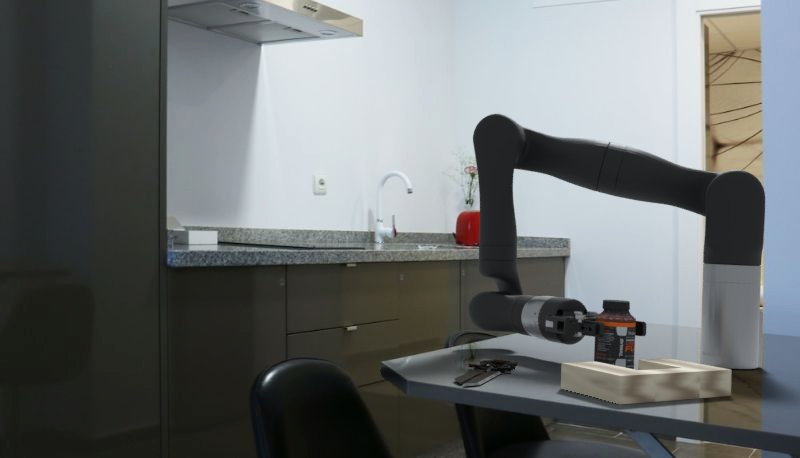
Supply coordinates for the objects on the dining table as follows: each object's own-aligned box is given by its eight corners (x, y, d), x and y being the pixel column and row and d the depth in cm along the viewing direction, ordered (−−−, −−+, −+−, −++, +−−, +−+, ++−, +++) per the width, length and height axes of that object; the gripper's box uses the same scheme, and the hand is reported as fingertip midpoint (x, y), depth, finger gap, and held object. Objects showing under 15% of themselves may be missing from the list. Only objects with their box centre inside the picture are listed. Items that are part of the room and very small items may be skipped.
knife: (472, 392, 109) (473, 382, 109) (427, 387, 112) (427, 376, 112) (528, 369, 132) (529, 360, 132) (490, 365, 135) (490, 356, 135)
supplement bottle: (632, 379, 123) (634, 302, 123) (591, 375, 125) (593, 300, 125) (635, 373, 129) (637, 300, 129) (596, 370, 131) (598, 298, 131)
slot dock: (668, 382, 121) (668, 358, 121) (730, 395, 112) (731, 369, 112) (560, 389, 112) (561, 362, 112) (619, 404, 102) (620, 375, 102)
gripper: (520, 296, 136) (588, 304, 122) (587, 296, 143) (659, 304, 129) (519, 342, 136) (586, 356, 122) (586, 340, 143) (657, 353, 129)
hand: (623, 329), depth 125 cm, fingers open, 8 cm apart
